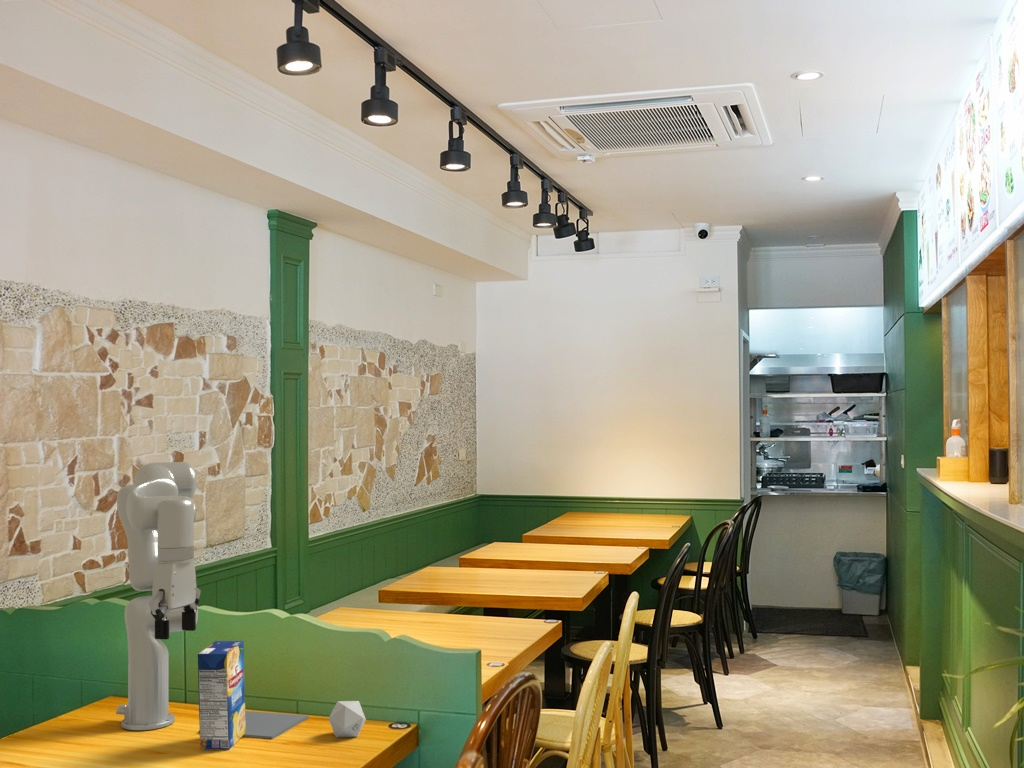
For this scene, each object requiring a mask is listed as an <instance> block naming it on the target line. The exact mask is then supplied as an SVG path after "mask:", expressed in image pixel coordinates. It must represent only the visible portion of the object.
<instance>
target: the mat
mask: <svg viewBox="0 0 1024 768" xmlns="http://www.w3.org/2000/svg"><path fill="white" fill-rule="evenodd" d="M307 719H309V715H308V714H307V715H306V714H294V713H292V714H291V713H281V712H279V713H278V712H265V711H251V710H245V725H246V733H245V734H244V735H243V736H242V737H241V738H253V739H265V740H266V739H267V740H273V739H275V738H277V737H279V736H280V735H283V734H285V732H287V731H289V730H290V729H293V727H296V726H297V725H299V724H301V723H303V722H304V721H306V720H307ZM198 734H200V729H199V730H198Z"/></svg>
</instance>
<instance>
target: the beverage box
mask: <svg viewBox="0 0 1024 768" xmlns="http://www.w3.org/2000/svg"><path fill="white" fill-rule="evenodd" d="M244 643H245V642H244V640H215V641H213V642H212V643H211V644H209V645H208V646H206V647H205V648H204V649H202V650H201V651H200V652H198V653H197V673H198V674H197V678H198V679H197V681H198V683H197V684H198V720H199V721H198V722H199V724H198V726H199V730H200V733H199V750H201V751H203V750H205V751H206V750H210V751H213V750H214V751H217V750H218V751H219V750H221V751H230V750H231V748H232V747H233V746H235V744H237V742H238V741H239V740H240V739H241V738H243V737H242V736H243V735H244V734H245V733H246V725H245V711H246V696H245V695H246V692H245V691H246V689H245V687H246V686H245V685H246V683H245V653H244V652H245V649H244V648H245V647H244V646H245V645H244Z"/></svg>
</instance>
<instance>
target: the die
mask: <svg viewBox="0 0 1024 768" xmlns="http://www.w3.org/2000/svg"><path fill="white" fill-rule="evenodd" d="M328 721H329V723H330V726H331V728H332V731H333V733H334V736H335V738H358V737H359V735H360V733H361V731H362V728H363V726H364V725H365V722H366V721H367V718H366V716H365V713H364V711H363V708H362V705H361V703H360V701H359V700H343V701H342V700H341V701H340V700H339V701H337V702H336V704H335V705H334V707H333V709H332V711H331V712H330V714H329V716H328ZM357 736H358V737H357Z"/></svg>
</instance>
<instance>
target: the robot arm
mask: <svg viewBox="0 0 1024 768" xmlns="http://www.w3.org/2000/svg"><path fill="white" fill-rule="evenodd" d="M133 479H134V483H132V484H128V485H125V486H123V487H121V488H120V489H119V490H118V492H117V494H116V495H117V496H116V508H117V514H118V518H119V520H120V522H121V525H122V527H123V529H124V533H125V536H126V540H127V555H128V556H127V557H128V560H127V561H128V574H129V577H128V578H129V584H130V586H131V587H132V589H133V590H135V591H137V592H138V591H139V592H151V591H152V594H150V595H143V596H138V597H135V598H133V599H131V600H130V601H128V603H127V604H126V605H125V608H124V623H125V628H126V635H127V652H128V653H127V657H128V658H127V659H128V660H127V661H128V663H127V665H128V666H127V667H128V668H127V671H128V673H127V681H128V682H127V686H128V687H127V692H128V693H127V694H128V695H127V700H128V701H127V704H119V705H118V707H117V709H116V711H115V714H116V715H123V717H124V718H123V719H122V720H121V725H120V727H121V728H123V729H125V730H126V731H127V730H128V731H149V730H155V729H161V728H165V727H167V726H170V725H172V724H174V722H175V721H176V716H175V714H173V713H171V712H169V693H170V692H169V686H170V685H169V681H170V680H169V672H170V671H169V669H170V668H169V658H170V657H169V656H170V655H169V650H168V647H167V645H166V644H165V643H164V642H163V641H162V640H169V639H170V633H175V632H176V633H177V632H185V631H187V632H188V631H189V632H190V631H191V632H194V631H196V630H197V629H196V628H197V623H198V619H199V603H200V600H199V599H200V597H201V593H202V592H201V589H200V588H198V586H197V576H196V575H197V574H196V566H195V562H194V561H195V558H194V557H195V556H194V554H195V553H194V552H195V548H194V547H195V541H194V539H195V538H194V537H195V536H194V535H195V534H194V533H195V530H194V529H195V528H194V526H195V520H196V516H197V506H196V503H195V501H193V498H194V495H195V493H196V489H197V484H198V483H197V482H198V481H197V480H198V479H197V473H196V471H195V468H194V467H193V465H192V464H190V463H188V462H186V461H177V462H176V461H172V462H169V461H167V462H165V461H164V462H149V463H147V464H143V465H142V466H140V467H139V468H138V469H137V470H136V472H135V474H134V477H133Z"/></svg>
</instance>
